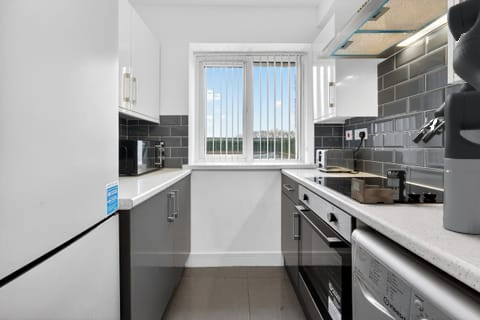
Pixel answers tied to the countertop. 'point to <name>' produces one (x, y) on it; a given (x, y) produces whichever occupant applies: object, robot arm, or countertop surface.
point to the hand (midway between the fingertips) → (418, 141)
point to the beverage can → (397, 183)
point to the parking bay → (370, 192)
